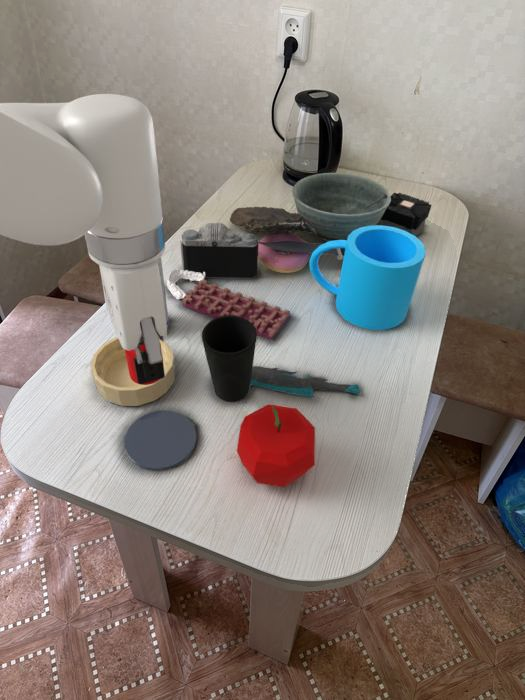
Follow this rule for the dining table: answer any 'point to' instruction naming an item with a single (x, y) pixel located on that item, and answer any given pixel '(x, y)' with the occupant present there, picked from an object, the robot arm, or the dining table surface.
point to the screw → (378, 200)
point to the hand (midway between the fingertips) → (145, 365)
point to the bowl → (339, 203)
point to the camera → (219, 252)
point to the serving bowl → (116, 379)
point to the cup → (230, 355)
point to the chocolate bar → (236, 308)
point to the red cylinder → (131, 366)
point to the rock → (270, 220)
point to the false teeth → (178, 274)
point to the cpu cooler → (406, 213)
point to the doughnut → (282, 254)
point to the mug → (374, 275)
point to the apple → (276, 445)
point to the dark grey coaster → (160, 440)
